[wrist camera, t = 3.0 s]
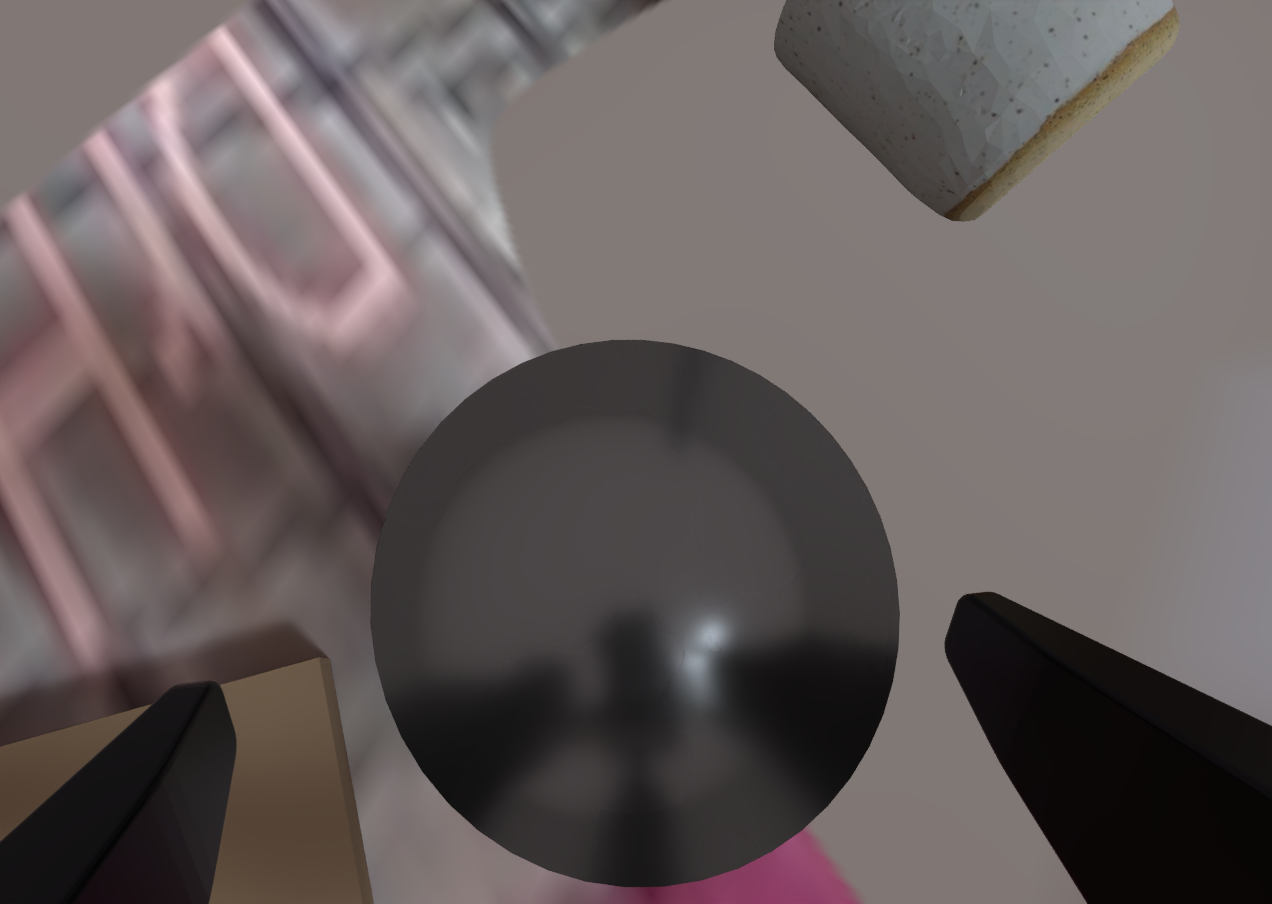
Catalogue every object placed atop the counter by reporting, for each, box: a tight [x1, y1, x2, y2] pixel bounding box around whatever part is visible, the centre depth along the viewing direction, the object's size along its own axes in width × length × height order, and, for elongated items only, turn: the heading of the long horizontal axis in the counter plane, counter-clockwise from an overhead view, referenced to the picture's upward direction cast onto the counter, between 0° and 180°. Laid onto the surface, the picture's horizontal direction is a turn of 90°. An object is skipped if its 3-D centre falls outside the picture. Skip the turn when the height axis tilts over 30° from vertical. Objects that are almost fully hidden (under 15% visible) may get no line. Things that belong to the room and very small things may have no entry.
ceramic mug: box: [774, 0, 1179, 221], centre depth 20 cm, size 11×8×8 cm
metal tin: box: [371, 340, 900, 887], centre depth 12 cm, size 5×5×10 cm
